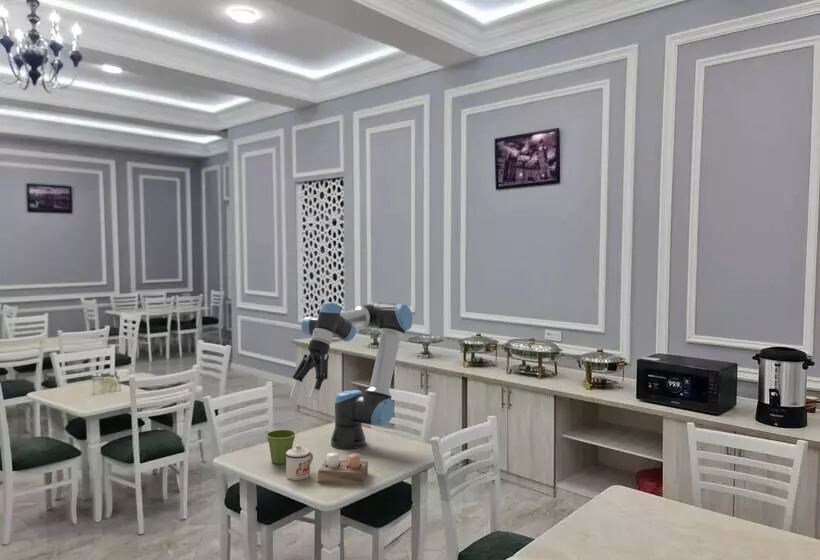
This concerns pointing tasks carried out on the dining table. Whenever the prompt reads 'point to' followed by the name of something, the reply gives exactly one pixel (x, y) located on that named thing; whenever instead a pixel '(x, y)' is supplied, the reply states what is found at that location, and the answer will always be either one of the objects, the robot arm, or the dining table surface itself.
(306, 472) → the teacup with lid
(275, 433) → the plant pot
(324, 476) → the wooden egg holder
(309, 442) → the dining table surface
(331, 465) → the white egg
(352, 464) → the brown egg
